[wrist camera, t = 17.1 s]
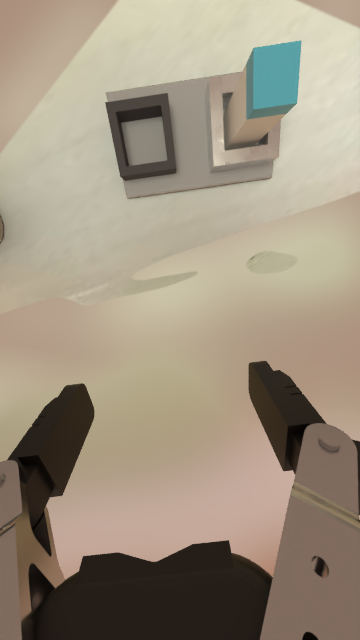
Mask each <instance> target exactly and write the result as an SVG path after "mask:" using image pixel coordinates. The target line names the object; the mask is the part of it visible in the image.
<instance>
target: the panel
mask: <svg viewBox="0 0 360 640" xmlns="http://www.w3.org/2000/svg"><path fill="white" fill-rule="evenodd" d="M239 73H242V72H237V73H230V74H224V75H217V76H211V77H204V78H198V79H191V80H185V81H179V82H172V83H166V84H159V85H153V86H146V87H140V88H133V89H127V90H120V91H114V92H107V93H106V95H107V100H108V102H111V101H118V100H124V99H131V98H137V97H144V96H150V95H157V94H163V93H168V99H169V107H170V116H171V125H172V134H173V143H174V152H175V160H176V173H175V174H168V175H161V176H155V177H148V178H141V179H134V180H127V181H125V180H124V179H123V181H124V186H125V191H126V196H127V198H128V199H130V198H137V197H144V196H151V195H158V194H165V193H172V192H179V191H185V190H192V189H199V188H206V187H213V186H220V185H227V184H234V183H241V182H248V181H255V180H262V179H269V178H271V177H272V171H273V161H272V162H270V163H269V164H265V165H258V166H251V167H244V168H237V169H231V170H224V171H217V172H210V173H209V156H208V140H207V124H206V108H205V92H206V88H207V84H208V80H209V78H214V77H220V76H227V75H233V74H239ZM226 108H227V107H223V114H224V112H225V110H226ZM121 125H122V131H123V136H124V142H125V147H126V152H127V158H128V163H129V166H133V165H139V164H146V163H153V162H160V161H167V152H166V144H165V136H164V128H163V120H162V117H156V118H149V119H143V120H136V121H130V122H123V123H121ZM254 146H258V142H257V143H256V144H255V145H254ZM254 146H253V147H254Z"/></svg>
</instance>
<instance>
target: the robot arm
mask: <svg viewBox="0 0 360 640" xmlns="http://www.w3.org/2000/svg"><path fill="white" fill-rule="evenodd" d="M2 237H3V223H2V220H1V217H0V242H1V240H2ZM249 394H250V398H251V401H252V403H253V405H254V407H255V410H256V412H257V414H258V417H259V419H260V421H261V423H262V425H263V427H264V430H265V432H266V434H267V436H268V438H269V441H270V443H271V445H272V447H273V450H274V452H275V454H276V456H277V458H278V460H279V463H280V465H281V467H282V469H283V471H290V470H293V471H294V473H295V480H294V484H293V486H292V490H291V494H290V499H289V504H288V508H287V513H286V518H285V522H284V527H283V532H282V537H281V542H280V546H279V551H278V556H277V561H276V565H275V570H274V575H273V577H272V576H271V575H270V574H269V573H267V572H266V571H265V570H264V569H263V568H261V567H260V566H259V565H257V564H256V563H254V562H252V561H251V560H249V559H247V558H245V557H242V556H240V555H237V554H233V553H231V549H230V544H229V541H219V542H210V543H201V544H192V545H190V546H188V547H186V548H184V549H182V550H180V551H178V552H176V553H174V554H172V555H170V556H168V557H166V558H164V559H162V560H160V561H157V562H150V561H146V560H143V559H139V558H136V557H132V556H129V555H125V554H122V553H110V554H100V555H91V556H83V559H82V562H81V566H80V570H79V572H77V573H76V574H74V575H72V576H71V577H69V578H68V579H66V580H65V579H64V576H63V574H62V571H61V569H60V567H59V564H58V560H57V555H56V550H55V545H54V539H53V534H52V529H51V524H50V518H49V514H48V509H47V507H46V504H47V502H48V500H49V497H55V496H62V495H63V492H64V490H65V488H66V485H67V483H68V480H69V478H70V475H71V473H72V471H73V468H74V466H75V463H76V461H77V458H78V456H79V454H80V451H81V449H82V446H83V444H84V441H85V439H86V436H87V434H88V432H89V429H90V427H91V424H92V422H93V419H94V407H93V404H92V401H91V399H90V396H89V394H88V391H87V388H86V386H85V385H84V384H74V385H67V386H65V387H64V389H63V390H62V392H61V393H60V395H59V396H58V397H57V398H55V399H53V400H52V401H51V402H50V403H49V404H47V405H46V406H45V407H44V409H43V410H42V412H41V413H40V415H39V416H38V418H37V419H36V420H35V421H34V423H33V424H32V427H30V429H29V430H28V431H27V433H26V434H25V436H24V437H23V438H22V440H21V441H20V443H19V444H18V445H17V447H16V448H15V450H14V451H13V452H12V454H11V455H10V457H9V458H8V460H7V461H3V462H0V640H360V520H359V515H360V442H359V441H355V440H352V439H351V438H350V437H349V436H348V435H347V434H346V433H344V432H343V431H341V430H340V429H338V428H336V427H334V426H331V425H328V424H326V423H325V421H324V420H323V419H322V417H321V416H320V415H319V414H318V412H317V411H316V410H315V409H314V407H313V406H312V405H311V403H310V402H309V401H308V400H307V398H306V397H305V396H304V395H303V394H302V392H301V391H300V389H299V388H298V387H296V384H295V383H294V382H293V381H292V379H291V378H290V377H289V376H287V375H286V374H285V373H283V372H281V371H280V370H277V371H273V370H272V368H271V367H270V365H269V364H268V363H267V362H266V361H261V362H252V363H249Z"/></svg>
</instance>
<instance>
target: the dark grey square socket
mask: <svg viewBox="0 0 360 640" xmlns="http://www.w3.org/2000/svg"><path fill="white" fill-rule="evenodd" d="M105 103H106V108H107V113H108V118H109V122H110V127H111V132H112V137H113V142H114V147H115V152H116V157H117V162H118V167H119V172H120V176H121V177H122V178H123V179H124V180H125V181H127V180H134V179H141V178H148V177H155V176H161V175H168V174H175V173H176V160H175V152H174V143H173V134H172V125H171V116H170V107H169V99H168V93H163V94H157V95H150V96H144V97H137V98H131V99H124V100H118V101H111V102H105ZM156 117H162V120H163V128H164V136H165V144H166V152H167V161H160V162H153V163H146V164H139V165H133V166H129V163H128V158H127V152H126V147H125V142H124V136H123V131H122V125H121V123H123V122H130V121H136V120H143V119H149V118H156Z"/></svg>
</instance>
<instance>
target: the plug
mask: <svg viewBox="0 0 360 640" xmlns="http://www.w3.org/2000/svg"><path fill="white" fill-rule="evenodd" d="M300 52H301V41H296V42H289V43H283V44H276V45H270V46H263V47H257V48H253V50H252V53H251V55H250V57H249V59H248V61H247V64H246V66H245V68H244V70H243V72H242V75H241V77H240V79H239V81H238V84H237V86H236V88H235V90H234V92H233V95H232V97H231V99H230V101H229V103H228V106H227V108H226V110H225V112H224V114H223V125H224V151H227V150H234V149H241V148H247V147H253V146H254V145H255V144H256V143H257V142H258V141H259V140H260V139H261V138H262V137H263V136H264V135H265V134H266V133H267V132H268V131H269V130H270V129H271V128H272V127H274V126H275V125H276V124H277V123H278V122H279V121H280V120H281V119H282V118H283V117H284V116H285V115H286V114H287V113H288V112H289V111H290V110H291V109H292V108H293V107H294V106H295V105H296V104H297V96H298V81H299V67H300Z"/></svg>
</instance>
